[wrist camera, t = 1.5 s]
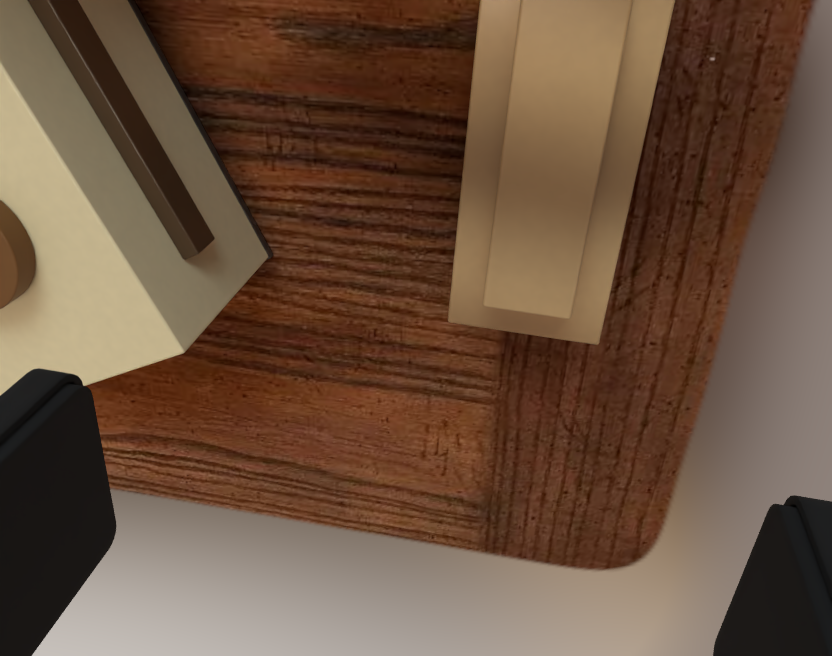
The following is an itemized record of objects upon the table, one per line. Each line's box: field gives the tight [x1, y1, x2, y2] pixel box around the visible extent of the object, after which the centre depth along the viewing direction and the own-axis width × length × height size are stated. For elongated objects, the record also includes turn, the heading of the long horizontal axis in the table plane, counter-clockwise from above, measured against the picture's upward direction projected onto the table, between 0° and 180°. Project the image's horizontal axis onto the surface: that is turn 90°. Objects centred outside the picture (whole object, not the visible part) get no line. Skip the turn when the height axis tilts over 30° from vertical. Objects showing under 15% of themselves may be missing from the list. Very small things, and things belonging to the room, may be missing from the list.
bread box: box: [0, 0, 273, 396], centre depth 23 cm, size 9×12×7 cm
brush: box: [448, 0, 675, 345], centre depth 20 cm, size 11×4×6 cm, turn 176°
